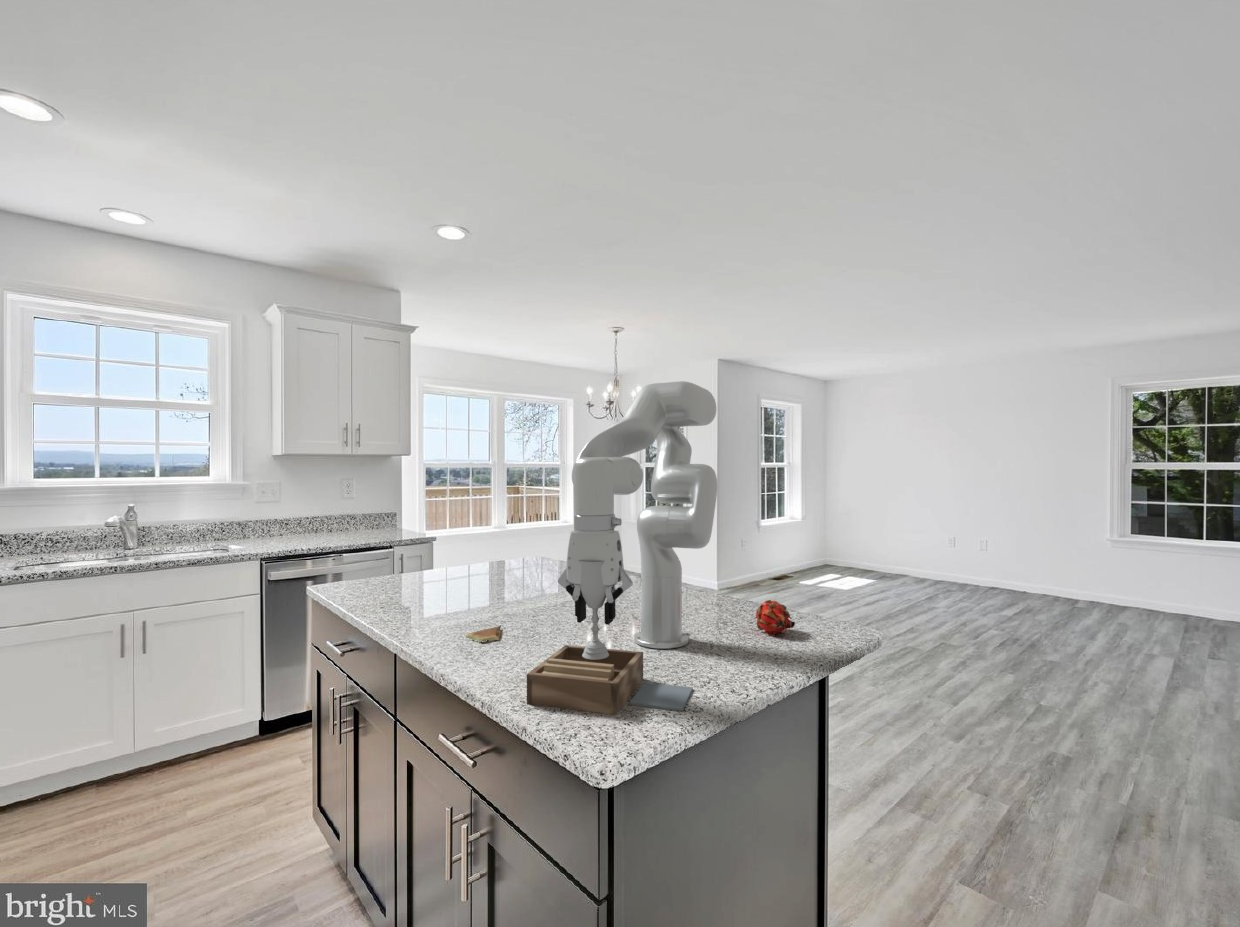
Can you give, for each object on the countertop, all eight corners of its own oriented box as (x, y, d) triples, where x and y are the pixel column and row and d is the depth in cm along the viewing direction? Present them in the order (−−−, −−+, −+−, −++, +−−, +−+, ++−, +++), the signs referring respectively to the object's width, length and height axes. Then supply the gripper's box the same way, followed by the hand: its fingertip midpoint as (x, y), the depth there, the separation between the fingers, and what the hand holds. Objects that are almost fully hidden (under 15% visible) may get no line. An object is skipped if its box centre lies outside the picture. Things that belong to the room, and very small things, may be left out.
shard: (500, 631, 146) (500, 624, 146) (520, 636, 141) (520, 629, 141) (464, 640, 138) (464, 632, 138) (483, 646, 133) (484, 639, 133)
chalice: (572, 651, 110) (570, 557, 110) (605, 646, 113) (604, 554, 113) (585, 663, 104) (583, 563, 104) (620, 658, 106) (618, 560, 106)
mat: (644, 684, 108) (644, 682, 108) (692, 689, 105) (692, 687, 105) (630, 704, 98) (630, 702, 98) (682, 711, 96) (682, 708, 96)
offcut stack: (549, 695, 103) (549, 658, 103) (614, 702, 100) (614, 664, 100) (541, 702, 100) (541, 664, 100) (607, 710, 96) (607, 671, 96)
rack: (565, 670, 116) (565, 645, 116) (643, 678, 111) (643, 652, 111) (526, 703, 99) (526, 674, 99) (616, 714, 94) (616, 683, 94)
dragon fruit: (767, 632, 150) (784, 653, 138) (742, 613, 148) (756, 633, 137) (787, 606, 149) (806, 625, 137) (762, 587, 148) (778, 605, 136)
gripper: (643, 522, 109) (644, 619, 109) (559, 521, 114) (560, 613, 114) (632, 527, 102) (633, 630, 102) (543, 525, 107) (545, 624, 107)
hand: (595, 620), depth 108 cm, fingers closed on chalice, 4 cm apart
